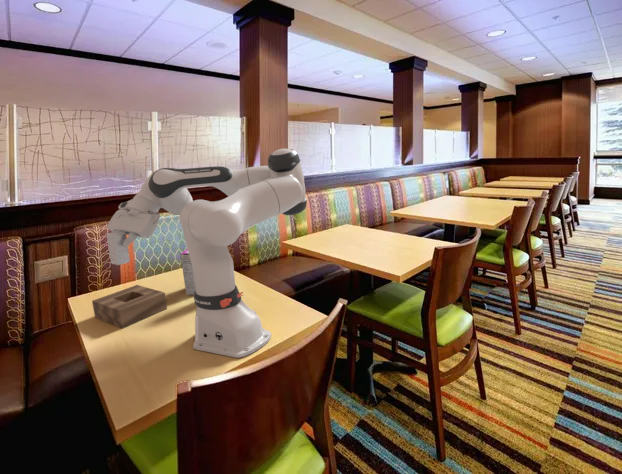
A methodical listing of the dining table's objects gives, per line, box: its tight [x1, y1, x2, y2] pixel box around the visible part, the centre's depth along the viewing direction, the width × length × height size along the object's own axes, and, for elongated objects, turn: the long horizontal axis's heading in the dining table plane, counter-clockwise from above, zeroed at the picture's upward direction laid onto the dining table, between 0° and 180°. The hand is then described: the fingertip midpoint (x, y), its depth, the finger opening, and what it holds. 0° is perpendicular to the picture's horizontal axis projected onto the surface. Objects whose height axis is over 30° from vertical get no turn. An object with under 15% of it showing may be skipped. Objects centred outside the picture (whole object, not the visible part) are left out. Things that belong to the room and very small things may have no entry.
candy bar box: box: [180, 248, 195, 296], centre depth 140 cm, size 11×5×16 cm, turn 179°
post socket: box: [91, 284, 168, 329], centre depth 123 cm, size 16×16×6 cm
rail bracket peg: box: [106, 231, 131, 266], centre depth 118 cm, size 4×4×10 cm
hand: (119, 245), depth 118 cm, fingers closed on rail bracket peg, 4 cm apart
